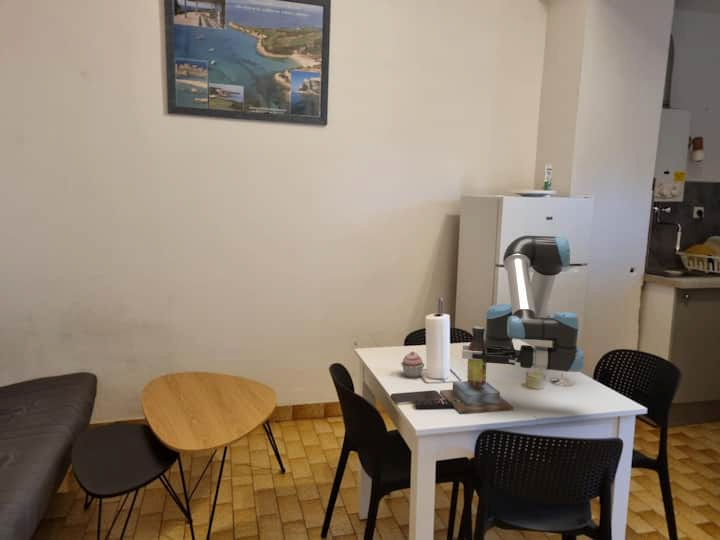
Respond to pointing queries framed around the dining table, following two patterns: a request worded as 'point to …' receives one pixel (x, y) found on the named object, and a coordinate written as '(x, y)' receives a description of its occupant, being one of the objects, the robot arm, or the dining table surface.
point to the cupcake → (412, 365)
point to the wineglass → (561, 381)
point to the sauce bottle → (477, 366)
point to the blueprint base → (475, 408)
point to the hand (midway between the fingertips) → (462, 351)
